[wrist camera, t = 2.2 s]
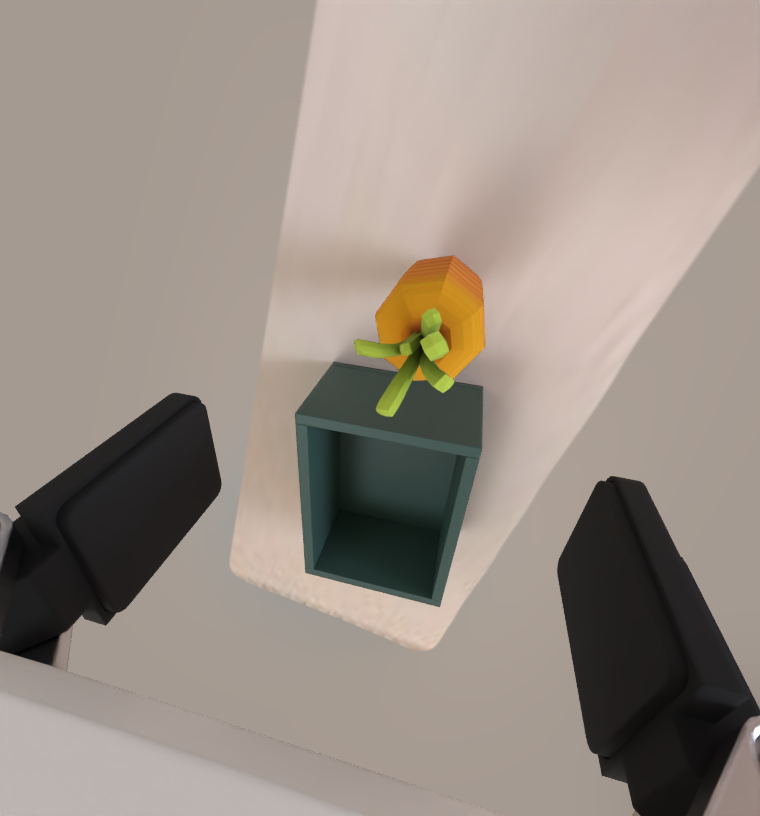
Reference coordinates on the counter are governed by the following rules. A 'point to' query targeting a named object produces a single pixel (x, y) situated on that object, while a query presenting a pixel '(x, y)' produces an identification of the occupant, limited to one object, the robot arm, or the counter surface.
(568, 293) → the counter surface
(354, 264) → the counter surface
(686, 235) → the counter surface
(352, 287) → the counter surface
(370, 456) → the bin
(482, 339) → the carrot
